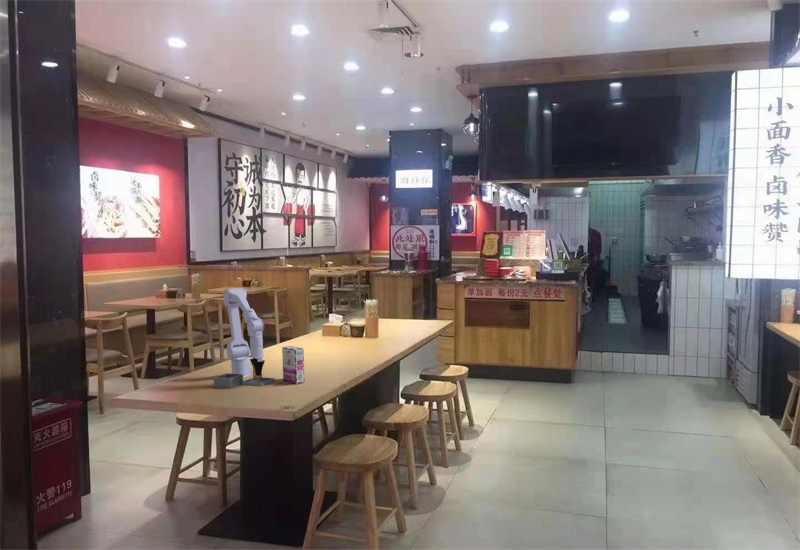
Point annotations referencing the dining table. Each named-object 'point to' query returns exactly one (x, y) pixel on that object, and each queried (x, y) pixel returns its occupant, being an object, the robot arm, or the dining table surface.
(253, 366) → the dowel
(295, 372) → the candy bar box
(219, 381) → the grey square box
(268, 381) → the tray
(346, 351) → the dining table surface
